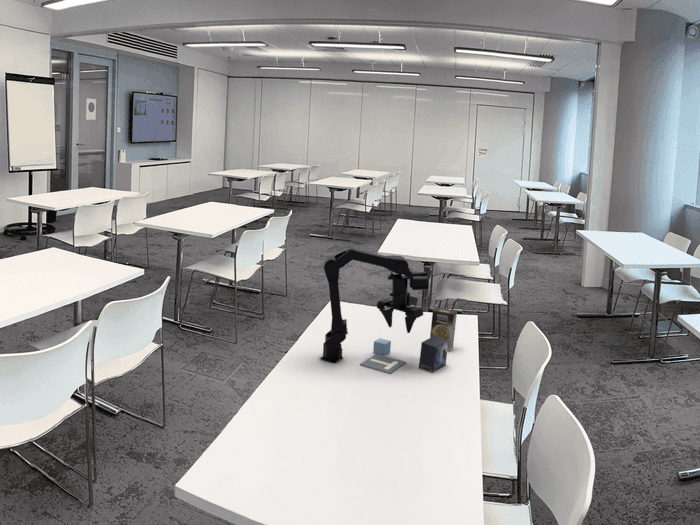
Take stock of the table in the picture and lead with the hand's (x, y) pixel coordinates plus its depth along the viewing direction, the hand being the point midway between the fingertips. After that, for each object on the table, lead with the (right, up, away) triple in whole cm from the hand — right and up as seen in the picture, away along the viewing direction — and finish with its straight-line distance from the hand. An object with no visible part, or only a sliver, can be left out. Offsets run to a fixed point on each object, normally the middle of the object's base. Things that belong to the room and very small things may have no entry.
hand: (399, 329), depth 221 cm
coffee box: (+19, -10, +21) cm, 30 cm away
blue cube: (-6, -10, +11) cm, 16 cm away
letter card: (-6, -13, 0) cm, 14 cm away
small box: (+13, -14, 0) cm, 19 cm away
